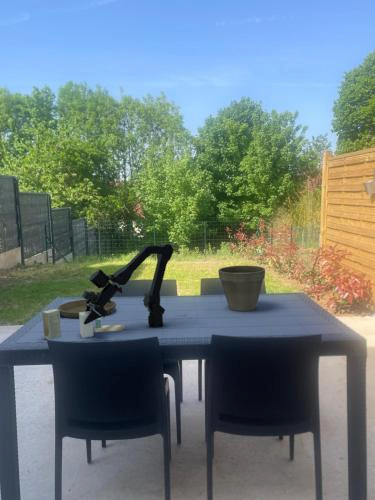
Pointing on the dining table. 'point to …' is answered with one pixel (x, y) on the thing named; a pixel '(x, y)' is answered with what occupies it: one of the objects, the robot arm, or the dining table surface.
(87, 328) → the tall white cuboid
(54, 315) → the skincare box
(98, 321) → the pale teal block
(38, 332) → the dining table surface
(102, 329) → the board
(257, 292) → the plant pot
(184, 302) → the dining table surface
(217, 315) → the dining table surface
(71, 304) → the plant saucer
